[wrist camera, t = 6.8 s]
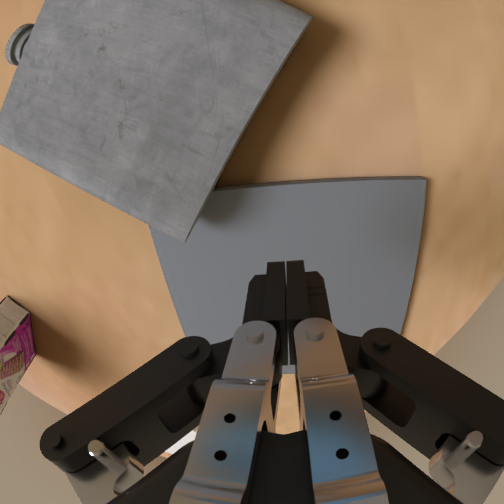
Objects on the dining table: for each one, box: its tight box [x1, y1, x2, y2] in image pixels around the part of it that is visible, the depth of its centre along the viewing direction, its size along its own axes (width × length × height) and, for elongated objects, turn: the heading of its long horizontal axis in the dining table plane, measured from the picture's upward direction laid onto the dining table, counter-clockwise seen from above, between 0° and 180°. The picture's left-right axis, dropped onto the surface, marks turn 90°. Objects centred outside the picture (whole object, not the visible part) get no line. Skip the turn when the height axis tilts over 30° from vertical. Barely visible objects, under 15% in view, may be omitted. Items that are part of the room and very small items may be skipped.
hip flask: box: [0, 0, 313, 243], centre depth 14 cm, size 16×4×20 cm
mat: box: [149, 176, 427, 374], centre depth 24 cm, size 19×20×1 cm
